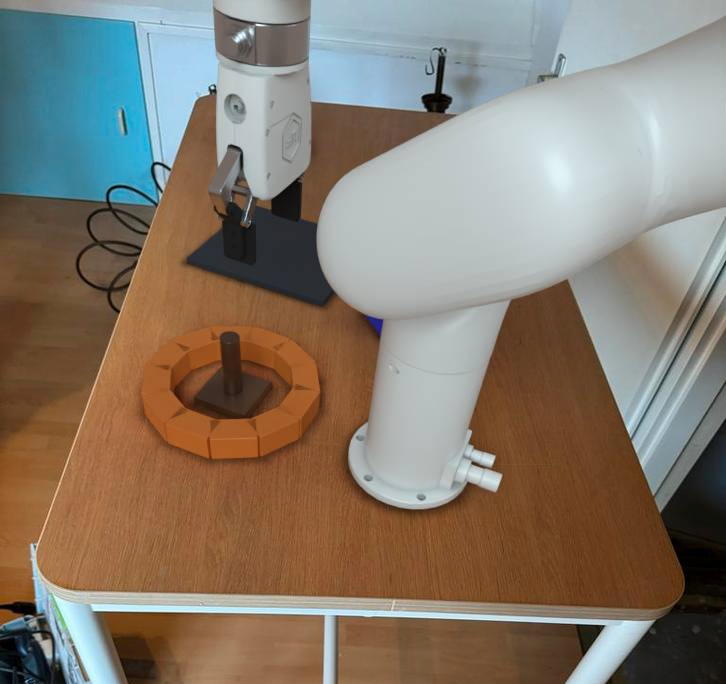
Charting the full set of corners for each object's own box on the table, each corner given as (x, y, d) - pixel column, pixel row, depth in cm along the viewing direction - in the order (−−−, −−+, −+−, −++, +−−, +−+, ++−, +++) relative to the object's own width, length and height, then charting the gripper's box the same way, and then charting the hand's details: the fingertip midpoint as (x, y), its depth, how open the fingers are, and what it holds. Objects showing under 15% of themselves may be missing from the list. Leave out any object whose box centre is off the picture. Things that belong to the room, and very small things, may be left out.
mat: (372, 245, 94) (373, 240, 93) (322, 306, 82) (323, 301, 82) (250, 209, 97) (250, 203, 97) (186, 263, 86) (186, 257, 85)
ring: (342, 375, 74) (344, 356, 72) (270, 482, 62) (270, 462, 60) (203, 328, 77) (201, 308, 75) (110, 421, 65) (104, 401, 63)
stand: (271, 389, 71) (270, 330, 65) (245, 423, 67) (241, 362, 61) (223, 373, 72) (218, 312, 66) (194, 405, 68) (186, 344, 62)
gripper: (252, 79, 45) (256, 291, 58) (347, 23, 56) (332, 212, 69) (160, 54, 46) (184, 267, 59) (270, 4, 57) (270, 193, 70)
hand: (264, 237), depth 64 cm, fingers open, 9 cm apart
